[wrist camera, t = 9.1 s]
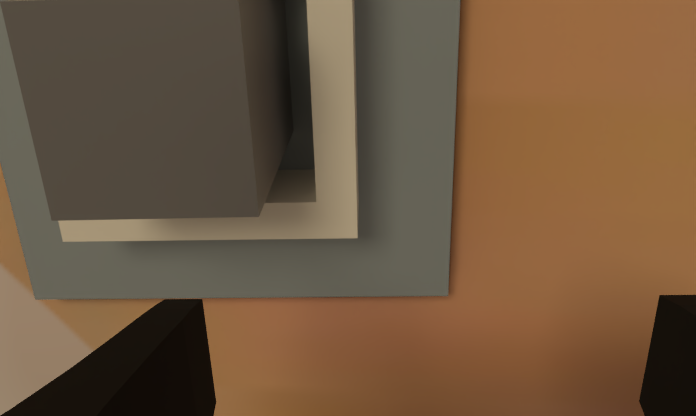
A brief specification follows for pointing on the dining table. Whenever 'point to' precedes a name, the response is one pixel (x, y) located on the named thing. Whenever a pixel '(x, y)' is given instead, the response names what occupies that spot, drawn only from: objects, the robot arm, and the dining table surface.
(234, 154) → the plug
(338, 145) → the socket
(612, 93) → the dining table surface
